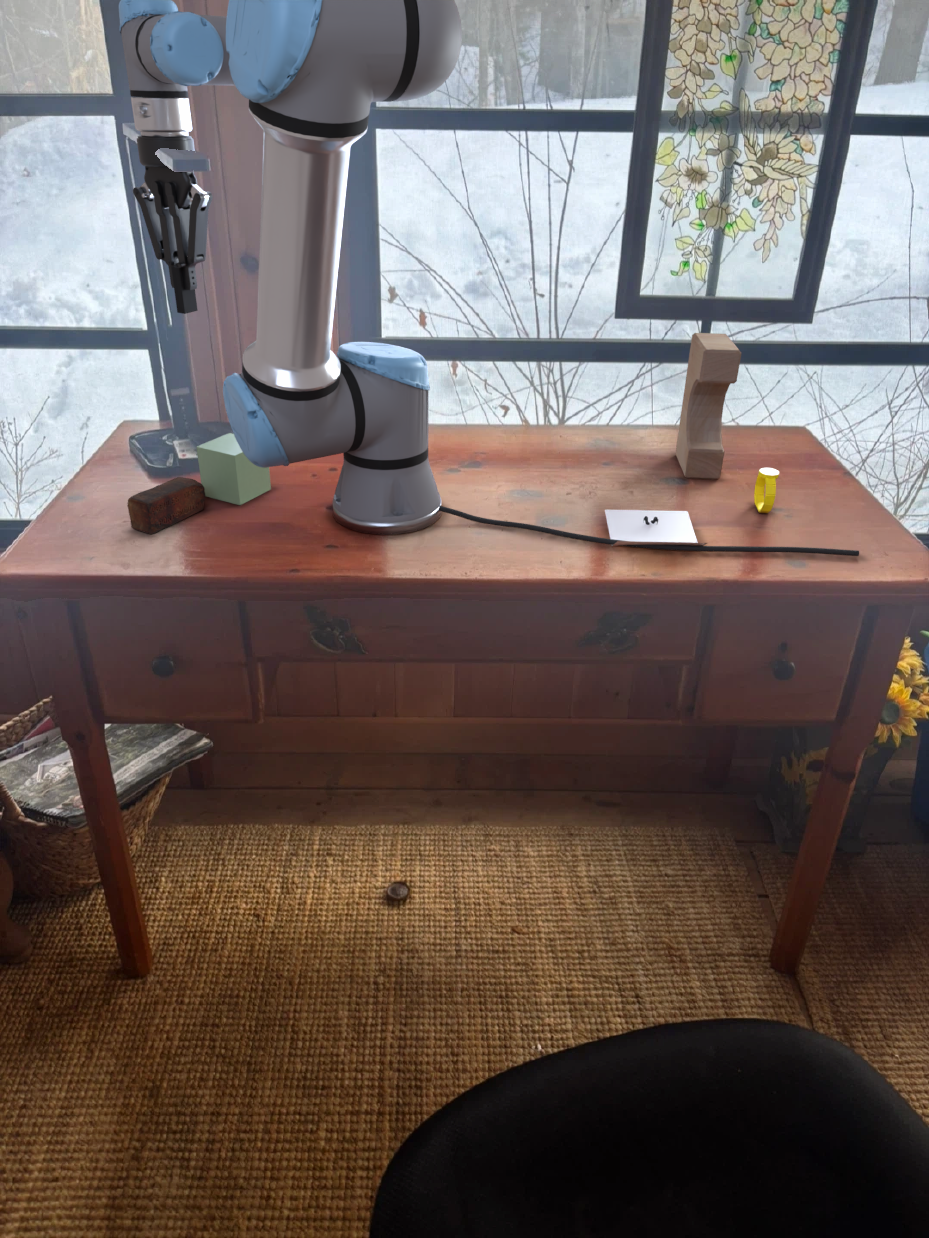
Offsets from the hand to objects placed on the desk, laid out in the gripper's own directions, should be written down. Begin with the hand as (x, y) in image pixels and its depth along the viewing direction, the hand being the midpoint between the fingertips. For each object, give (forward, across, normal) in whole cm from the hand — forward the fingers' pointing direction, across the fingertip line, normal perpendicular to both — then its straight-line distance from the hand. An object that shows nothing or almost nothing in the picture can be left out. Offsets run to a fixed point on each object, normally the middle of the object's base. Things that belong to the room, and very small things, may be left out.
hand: (187, 311), depth 137 cm
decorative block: (+23, +71, +36) cm, 83 cm away
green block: (+22, +15, -10) cm, 29 cm away
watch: (+23, +84, +24) cm, 90 cm away
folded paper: (+23, +73, +7) cm, 77 cm away
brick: (+23, +14, -22) cm, 34 cm away
